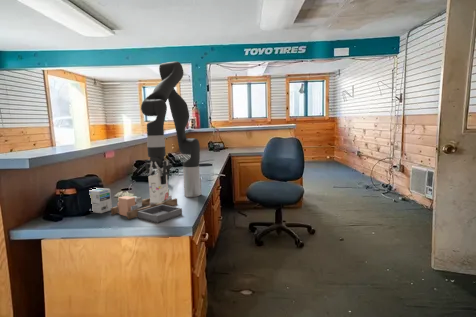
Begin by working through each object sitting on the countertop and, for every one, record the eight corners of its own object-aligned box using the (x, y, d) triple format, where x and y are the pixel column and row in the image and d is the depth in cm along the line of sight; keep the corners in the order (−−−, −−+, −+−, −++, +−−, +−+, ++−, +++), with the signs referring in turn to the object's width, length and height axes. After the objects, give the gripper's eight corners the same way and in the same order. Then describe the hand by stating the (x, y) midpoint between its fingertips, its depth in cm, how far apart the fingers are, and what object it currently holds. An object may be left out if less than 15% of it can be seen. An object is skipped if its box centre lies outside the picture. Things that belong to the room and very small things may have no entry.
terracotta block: (127, 212, 135) (126, 195, 135) (136, 214, 131) (134, 197, 130) (119, 214, 132) (118, 197, 131) (128, 216, 128) (127, 199, 127)
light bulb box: (112, 209, 140) (111, 188, 139) (101, 213, 134) (99, 191, 133) (97, 207, 144) (95, 187, 143) (85, 211, 138) (83, 189, 137)
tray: (162, 210, 137) (162, 204, 136) (182, 214, 129) (181, 208, 128) (138, 218, 126) (137, 211, 125) (157, 223, 118) (157, 216, 117)
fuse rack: (159, 200, 155) (159, 191, 155) (177, 204, 147) (176, 194, 146) (111, 214, 133) (110, 203, 132) (128, 219, 124) (128, 208, 124)
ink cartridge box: (158, 197, 131) (157, 166, 129) (168, 198, 130) (167, 166, 128) (149, 202, 123) (147, 169, 121) (159, 203, 122) (158, 169, 120)
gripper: (174, 145, 123) (175, 183, 124) (153, 145, 131) (155, 180, 133) (159, 146, 117) (162, 186, 118) (138, 146, 125) (141, 183, 127)
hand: (158, 183), depth 126 cm, fingers closed on ink cartridge box, 6 cm apart
